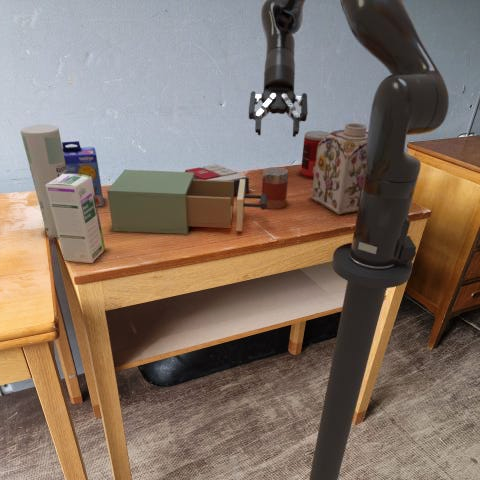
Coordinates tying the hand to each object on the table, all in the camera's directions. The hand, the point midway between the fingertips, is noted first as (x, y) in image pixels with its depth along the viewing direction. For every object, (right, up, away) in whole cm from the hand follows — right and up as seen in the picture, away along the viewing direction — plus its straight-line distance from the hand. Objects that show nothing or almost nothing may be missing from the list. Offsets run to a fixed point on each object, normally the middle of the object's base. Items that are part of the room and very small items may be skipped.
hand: (276, 134), depth 107 cm
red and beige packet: (-15, -11, +8) cm, 21 cm away
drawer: (-13, -23, -10) cm, 28 cm away
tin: (-1, -17, 0) cm, 17 cm away
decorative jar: (+16, -17, +1) cm, 23 cm away
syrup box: (-38, -33, -24) cm, 56 cm away
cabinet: (-27, -23, -9) cm, 37 cm away
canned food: (+12, -4, +19) cm, 23 cm away
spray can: (-46, -27, -15) cm, 55 cm away
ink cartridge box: (-46, -18, -3) cm, 49 cm away
